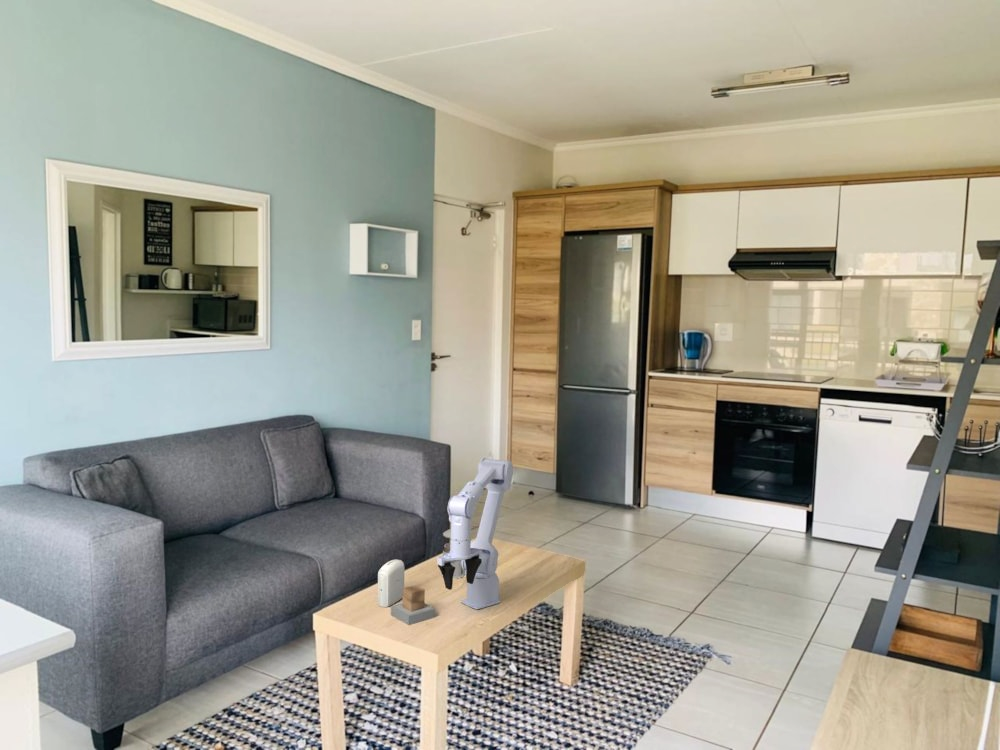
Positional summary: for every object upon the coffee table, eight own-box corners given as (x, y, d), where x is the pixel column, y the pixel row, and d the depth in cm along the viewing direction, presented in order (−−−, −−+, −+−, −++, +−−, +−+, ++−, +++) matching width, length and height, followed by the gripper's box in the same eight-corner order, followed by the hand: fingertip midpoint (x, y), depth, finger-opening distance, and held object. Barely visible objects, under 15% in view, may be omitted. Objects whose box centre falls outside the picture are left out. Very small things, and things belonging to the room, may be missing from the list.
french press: (455, 567, 255) (456, 495, 253) (478, 575, 247) (480, 501, 245) (433, 573, 248) (434, 500, 246) (456, 582, 240) (458, 506, 238)
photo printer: (387, 608, 217) (388, 567, 216) (375, 606, 219) (376, 565, 218) (406, 597, 227) (406, 557, 226) (394, 594, 228) (394, 555, 227)
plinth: (416, 607, 219) (417, 599, 219) (434, 617, 212) (435, 608, 212) (390, 614, 213) (391, 606, 213) (408, 625, 206) (408, 616, 206)
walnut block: (415, 603, 215) (415, 584, 215) (424, 608, 212) (424, 589, 211) (402, 606, 212) (402, 588, 212) (411, 611, 209) (411, 592, 208)
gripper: (471, 531, 217) (470, 576, 218) (431, 539, 207) (430, 587, 208) (487, 536, 211) (485, 583, 212) (446, 545, 202) (445, 594, 203)
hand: (459, 585), depth 210 cm, fingers open, 7 cm apart
